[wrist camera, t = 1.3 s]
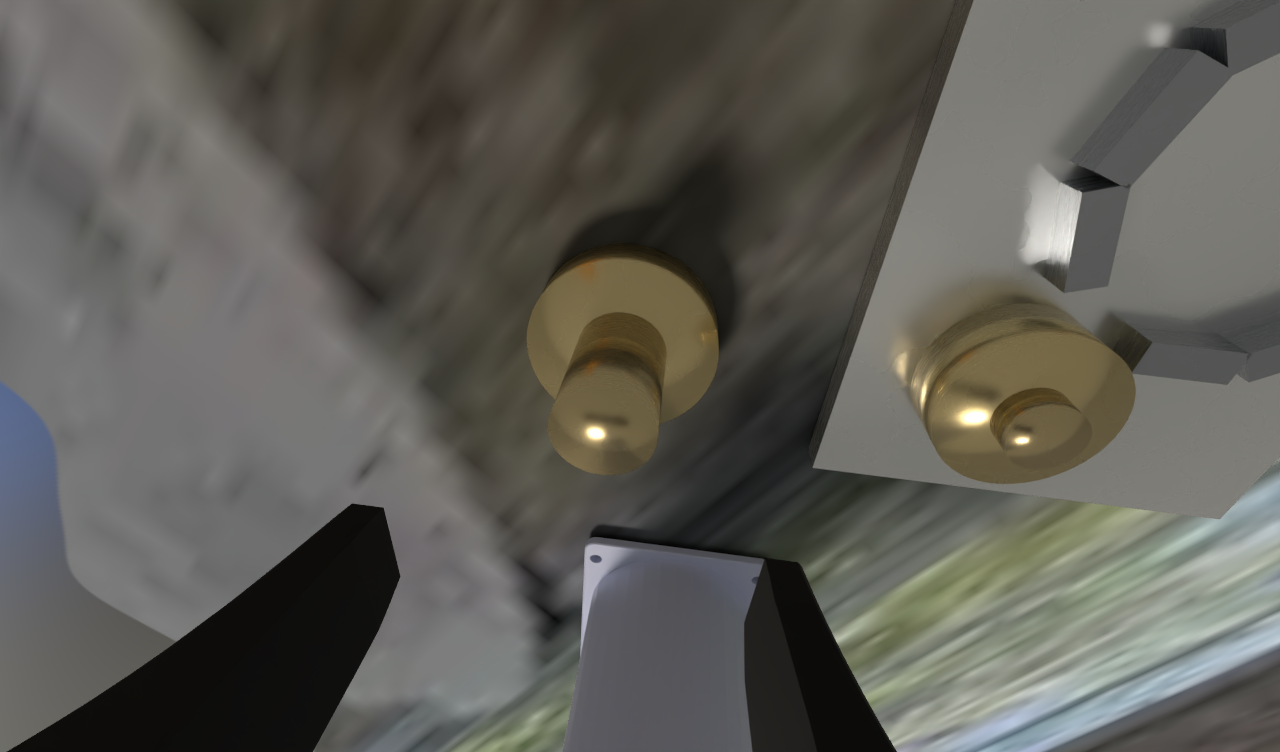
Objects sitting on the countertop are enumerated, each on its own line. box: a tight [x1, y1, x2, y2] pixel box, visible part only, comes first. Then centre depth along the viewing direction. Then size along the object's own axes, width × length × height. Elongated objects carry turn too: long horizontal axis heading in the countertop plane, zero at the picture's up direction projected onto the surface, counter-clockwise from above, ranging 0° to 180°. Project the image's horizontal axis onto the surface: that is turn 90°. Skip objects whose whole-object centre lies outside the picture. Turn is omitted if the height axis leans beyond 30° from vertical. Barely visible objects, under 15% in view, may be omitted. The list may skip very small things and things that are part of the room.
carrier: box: [808, 0, 1280, 519], centre depth 14 cm, size 16×14×4 cm
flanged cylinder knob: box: [527, 244, 719, 475], centre depth 16 cm, size 6×6×6 cm
